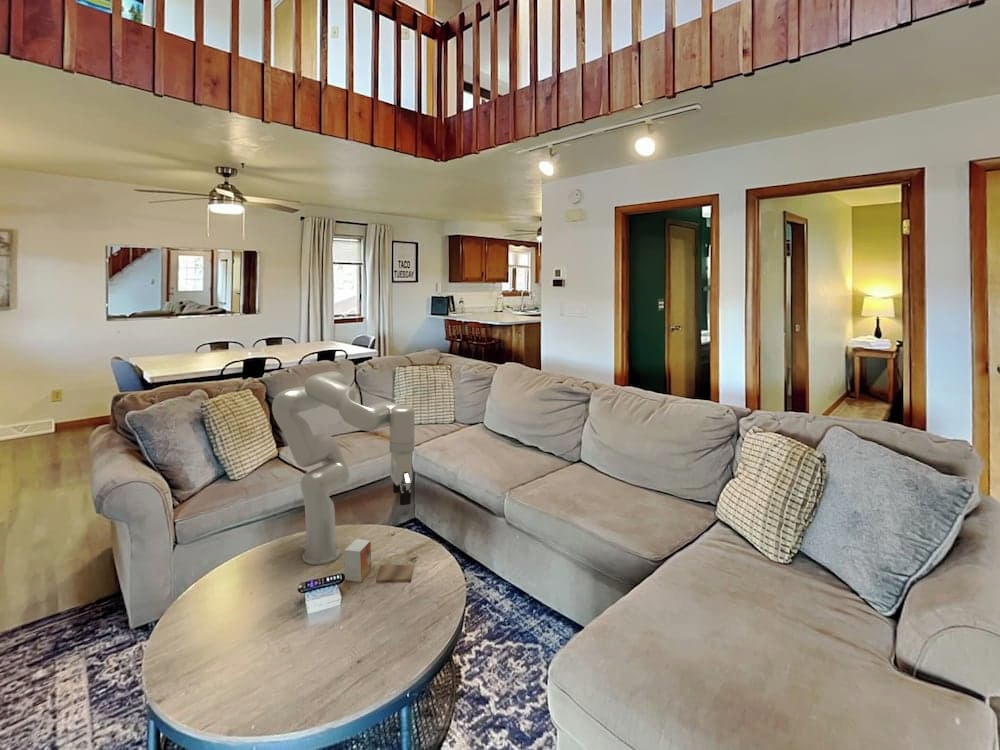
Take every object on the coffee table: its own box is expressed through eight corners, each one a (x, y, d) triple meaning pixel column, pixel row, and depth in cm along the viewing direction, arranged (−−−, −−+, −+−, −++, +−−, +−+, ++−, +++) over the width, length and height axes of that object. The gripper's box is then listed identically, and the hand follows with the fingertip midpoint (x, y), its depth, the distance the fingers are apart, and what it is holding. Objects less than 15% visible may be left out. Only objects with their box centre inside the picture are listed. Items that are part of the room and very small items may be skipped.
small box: (361, 582, 168) (360, 551, 166) (344, 580, 169) (343, 549, 167) (372, 569, 176) (371, 540, 174) (356, 567, 177) (355, 538, 175)
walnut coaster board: (375, 582, 168) (375, 579, 168) (380, 567, 177) (380, 565, 177) (410, 582, 169) (410, 579, 168) (413, 567, 177) (413, 564, 177)
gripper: (384, 439, 169) (384, 489, 172) (395, 455, 153) (395, 511, 156) (407, 437, 172) (407, 486, 175) (421, 453, 156) (420, 507, 159)
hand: (401, 498), depth 166 cm, fingers open, 9 cm apart
